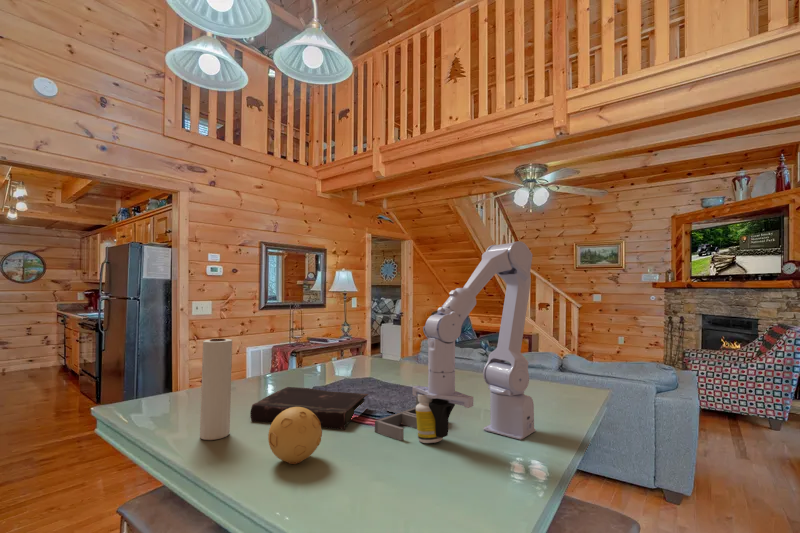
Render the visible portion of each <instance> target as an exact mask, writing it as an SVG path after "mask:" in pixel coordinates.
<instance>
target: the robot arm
mask: <svg viewBox="0 0 800 533" xmlns="http://www.w3.org/2000/svg"><path fill="white" fill-rule="evenodd" d="M533 255H534V254H533V253H532V252H531V250H530V248H529V247H528V245H527V244H526V243H525V242H524V241H519V240H517V241H514V242H510V243H509V242H508V243H502V244H492V245H489V246H488V247H487V248H486V250H485V251H484V252H483V253H482V254H481V261H480V262H479V263H478V265H476V267H475V269H474V271H473V272H472V273H471V275H470V277H469V278H468V280H467V282H466V283H465V284H464V285H463V287H456V288H455V289H452V290H450V292H449V293H448V295H449V297H448V298H447V299H446V300H445V302H444V303H443V304H442V305H441V306H440V307H438V308H437V312H436V313H435V314H431V315H430V316H429V317H428V318H427V319H426V321H425V324H424V326H422V330H423V334H424V336H425V337H426V339H427V346H428V348H427V349H428V350H427V351H428V355H427V356H428V361H427V362H428V363H427V364H428V372H427V373H428V377H427V378H428V379H427V380H428V381H427V382H428V384H427V386H421V385H414V386H412V396H414V397H417V396H418V394H424V395H427V397H428V398H432V402H431V403H429V408H430V409H431V411H432V413H433V415H434V418H435V431H436V436H437V437H441V438H445V437H447V436H449V418H450V415H451V414H452V411H453V409H454V408H455V405H458V406H463V407H464V408H465V409H466V408H467V409H469V408H473V407H474V396H472V395H469V394H465V393H462V392H459V391H456V340H457V339H458V338H460V336H461V333H462V326H463V324H464V321H465V320H466V319H467V318H468V317H469V315H470V314H471V312H472V310H474V308H475V306H476V305H477V298H476V297H477V296H478V294H479V293H480V292H481V291H482V289H484V288H485V286H486V285H487V284H488V282H490V280H491V279H492V278H494V276H495V275H497V276H498V277H500V278H501V279H502V280H503V281H504V283H505V284H506V288H505V296H504V303H503V307H502V308H503V309H502V315H501V321H500V326H499V334H498V340H497V346H496V348H495V349H494V350H492V351H491V352H490V353H489V354H488V359H487V362H486V364H485V365H484V368H483V371H482V376H483V381H484V382H485V383H486V384H487V386H488V387H487V388H488V390H490V391H489V394H490V397H489V398H490V400H489V401H490V402H489V404H490V408H489V409H490V424H488V425H486V426H484V427H483V431H486V432H489V433H493V434H498V435H502V436H504V437H509V438H513V439H515V440H523V439H525V438H527V437H529V435H531V434H533V433H534V432H536V428H535V411H534V410H535V405H534V400H533V397H531V396H530V395H526V394H525V391H526V390H527V389H528V386H529V384H530V374H529V361H528V360H527V359H526V357H525V356H524V355H523V354H522V345H523V344H522V343H523V338H524V331H525V325H526V317H527V310H528V304H529V296H530V290H531V282H532V278H531V268H532V261H533ZM507 362H508V363H507Z"/></svg>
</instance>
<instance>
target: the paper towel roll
mask: <svg viewBox="0 0 800 533" xmlns="http://www.w3.org/2000/svg"><path fill="white" fill-rule="evenodd" d="M232 359H233V339H229V338H211V339H206V340H203V341H202V361H201V362H202V363H201V364H202V365H201V387H200V388H201V392H200V417H199V418H200V420H199V422H200V424H199V438H200V439H202V440H204V441H213V440H214V441H215V440H220V439H223V438H226V437H227V436H229V435H230V431H231V430H230V429H231V398H232V368H233V367H232V362H233V360H232Z"/></svg>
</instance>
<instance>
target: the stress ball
mask: <svg viewBox="0 0 800 533" xmlns="http://www.w3.org/2000/svg"><path fill="white" fill-rule="evenodd" d="M267 436H268V437H267V439H268V440H267V441H268V445H269V448H270V450H271V451H272V453H273V454H274V455H275V457H276V458H278V459H279V460H281V461H283V462H286V463H287V464H291V465H296V464H300V463H302V461H304V460H306V459H308V458H310V457H311V456H312V454H314V452H315V451H317V449H318V447H319V445H320V444H321V442H322V436H323V430H322V427H321V423H320V421H319V419H318V418H317V416H316V415H315V414H314V413H313V412H312V411H310V410H309V409H306V408H303V407H292V408H288V409H286V410H284V411H282V412H281V413H280V414H279V415H277V417H276V418H275V419H274V420H273V422H272V423H270V427H269V430H268V434H267Z"/></svg>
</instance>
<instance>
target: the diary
mask: <svg viewBox="0 0 800 533" xmlns="http://www.w3.org/2000/svg"><path fill="white" fill-rule="evenodd" d="M367 396H369V394H368V393H359V392H358V393H357V392H344V391H343V392H342V391H329V390H328V391H327V390H321V389H318V388H317V389H314V388H311V387H295V386H286V387H284V388H281V389H280V390H277V391H274V393H271V394H269V395H267V396H266V397H264V398H262V399H260V400H259V401H257V402H254V403H253V404H252V405H251V407H250V408H251V409H250V417H249V418H250V420H251V421H252V422H259V423H270V424H272V422H273V420H274V419H275V418H276V417H277V415H279V414H280V413H281V412H282V411H284V410H286V409H288V408H292V407H303V408H306V409H309V410H310V411H312V412H313V413H314V414H315V415H316V416H317V418H318V419H319V421H320V423H321V428H323V429H324V428H325V429H332V430H344V431H345V429H346V427H348V426H347V425H348V424H349V423H350V422H351V421H352V420H351V418H352V416H353V414H354V410H355V409H356V408H357V407H358V406H359V405H361V404H362V403H363V402H364V403H365V401H366V399H365V397H367ZM350 420H351V421H350Z"/></svg>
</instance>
